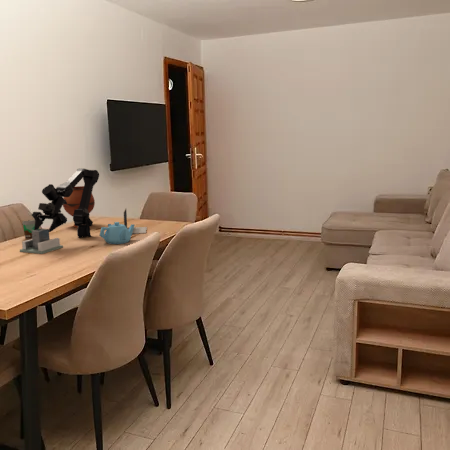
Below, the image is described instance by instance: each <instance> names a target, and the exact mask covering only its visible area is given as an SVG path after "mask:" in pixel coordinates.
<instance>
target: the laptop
mask: <svg viewBox="0 0 450 450" xmlns="http://www.w3.org/2000/svg"><path fill="white" fill-rule="evenodd" d="M127 215H128V214H127V208H125V209H124V211H123V225H125V226H126V227H127V229H129V227H128V218H127V217H128V216H127ZM147 228H148V227H147V226H139V227H137V226H136V227H135V226H134V229H133V232H132V235H133V234H136V235H137V234H139V233H140V234H146V233H147V231H146V230H148V229H147Z"/></svg>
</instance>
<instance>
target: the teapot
mask: <svg viewBox="0 0 450 450" xmlns="http://www.w3.org/2000/svg"><path fill="white" fill-rule="evenodd" d="M134 227H135V224H133V223H132V224H131V225H130V226H129V227H128V226H127V227H126V226H125V225H124V223H123V224H122V223H120V222H119V221H115V222H114V223H113V224H112V223H108V224H107V227H105V226H101V228H100V232H99V236H100V238H102V239H104V241H105V242H106V243H107V244H110V245H121V244H126V243H129V242H130V240H131V237H132V236H133V233H132V232H133V229H134ZM127 228H129V229H127Z"/></svg>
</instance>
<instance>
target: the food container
mask: <svg viewBox="0 0 450 450" xmlns="http://www.w3.org/2000/svg"><path fill="white" fill-rule="evenodd" d="M22 225H23V226H22V227H23V232H24V238H25V239H32V231H34V227H35V219H34V218H33V219H28V220H22ZM38 229H40V227H39V228H38Z"/></svg>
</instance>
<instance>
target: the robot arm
mask: <svg viewBox="0 0 450 450" xmlns="http://www.w3.org/2000/svg"><path fill="white" fill-rule="evenodd" d="M99 177H100V173H99V172H98V170H97V169H87V168H77V169H76V171H75V172H74V173H73V174H72V175H71V176H70V177H69V178H68V180H66V181H65V182H64V183H61V184H59V185H58V186H57V187H55V186H54V185H53V184H48V185H47V186H45V187H44V188H43V189H42V190H41V193H42V195H43V196H44V197H45V198H46V199H47V200H48V201H50V202H48V203H46V202H44V203H43V202H42V203H41V202H40V203H39V204H38V211H32V214H31V217H32V218H33V220H34V219H35V227H34V230H38V228H39V229H40V227H42V225H43V224H44V222H45V220H52V222H51V225H50V227H49V228H48V229H49V233H51V232H54V230H56V229H57V228H58V227H60V226H63V225H64V224H67V221H68V218H67V217H66V216H65V214H64V213H63V212H62V211H61V209H62V207H63V204H67V202H66V199H64V197H70V195H71V194H72V192H73V188H74V187H77V185H78V184H79V183H80V181H81V180H83V183H84V185H83V186H84V189H83V193H82V197H81V201H80V205H79V208H78V209H77V210H76V209H75V210H74V214H73V216H72V220H73V221H72V222H73V225H74V224H75V226H78V228H76V235H77V237H78V238H80V239H81V238H90V237H92V235H91V227H92V226H93V222H94V221H93V220H92V219H91V218H90V213H89V211H88V207H89V203H90V198H91V194H92V195H93V189H94V187H95V185H96V184H97V183H98V181H99ZM41 211H42V212H41Z"/></svg>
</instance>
